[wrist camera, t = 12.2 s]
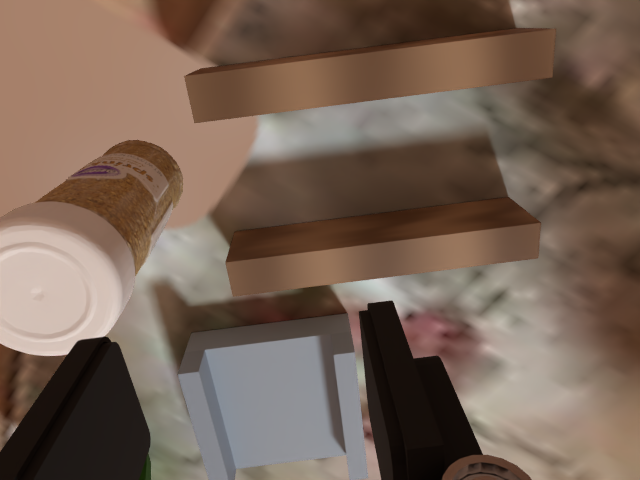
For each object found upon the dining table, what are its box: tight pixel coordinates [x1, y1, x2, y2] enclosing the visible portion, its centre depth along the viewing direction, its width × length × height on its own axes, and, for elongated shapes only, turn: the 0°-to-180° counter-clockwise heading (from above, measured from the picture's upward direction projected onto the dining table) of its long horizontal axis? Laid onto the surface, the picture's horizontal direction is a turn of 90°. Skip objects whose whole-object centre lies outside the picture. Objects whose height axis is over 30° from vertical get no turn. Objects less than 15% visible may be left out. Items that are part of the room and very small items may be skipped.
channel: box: [184, 28, 556, 297], centre depth 25 cm, size 16×11×4 cm
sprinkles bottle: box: [0, 140, 183, 356], centre depth 20 cm, size 5×5×14 cm
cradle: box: [177, 313, 368, 480], centre depth 31 cm, size 10×10×4 cm
